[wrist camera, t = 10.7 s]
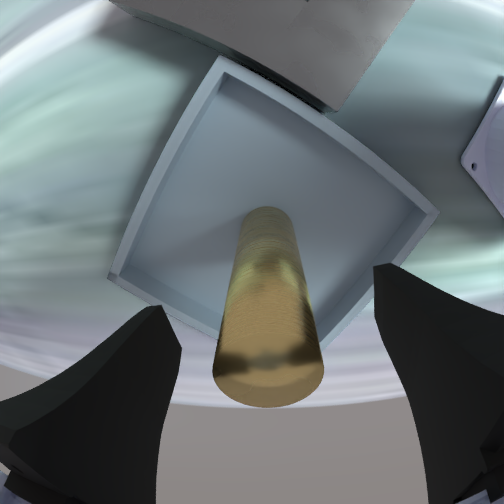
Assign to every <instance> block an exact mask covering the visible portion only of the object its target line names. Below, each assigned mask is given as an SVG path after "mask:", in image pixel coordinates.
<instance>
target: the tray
mask: <svg viewBox="0 0 504 504" xmlns="http://www.w3.org/2000/svg"><path fill="white" fill-rule="evenodd" d="M263 206H271V207H276V208H278V209H280V210H282V211H283V212H285V213H286V214H287V215H288V216H289V218H290V220H291V222H292V224H293V228H294V232H295V236H296V240H297V245H298V249H299V253H300V257H301V261H302V266H303V270H304V274H305V279H306V283H307V288H308V292H309V297H310V301H311V306H312V310H313V315H314V320H315V325H316V329H317V334H318V339H319V344H320V349H321V352H322V351H323V350H324V349H325V348H326V347H327V346H328V345H329V344H330V343H331V342H332V341H333V340H334V339H335V338H336V337H337V336H338V335H339V334H340V333H341V332H342V331H343V330H344V329H345V328H346V327H347V326H348V325H349V324H350V323H351V321H352V320H353V319H354V318H355V317H356V316H357V315H358V314H359V313H360V312H361V311H362V309H363V308H364V307H365V306H366V305H367V304H368V303H369V302H370V301H371V299H372V298H373V297H374V279H373V266H377V265H381V264H386V263H392V264H394V265H396V266H398V267H399V266H400V265H401V264H402V263H403V261H404V260H405V259H406V258H407V256H408V255H409V254H410V253H411V251H412V250H413V249H414V247H415V246H416V245H417V244H418V242H419V241H420V240H421V238H422V237H423V236H424V234H425V233H426V232H427V230H428V229H429V228H430V226H431V225H432V224H433V222H434V221H435V219H436V218H437V217H438V215H439V214H440V211H439V210H438V209H437V208H436V207H435V206H434V205H433V204H432V203H431V202H430V201H429V200H428V199H426V198H425V197H424V196H423V195H422V194H421V193H420V192H419V191H418V190H417V189H416V188H415V187H413V186H412V185H411V184H410V183H409V182H408V181H407V180H406V179H405V178H403V177H402V176H401V175H400V174H399V173H398V172H396V171H395V170H394V169H393V168H392V167H391V166H389V165H388V164H387V163H386V162H385V161H383V160H382V159H381V158H380V157H378V156H377V155H376V154H375V153H373V152H372V151H371V150H370V149H368V148H367V147H366V146H365V145H363V144H362V143H361V142H359V141H358V140H357V139H355V138H354V137H353V136H351V135H350V134H349V133H347V132H346V131H345V130H343V129H342V128H341V127H339V126H338V125H336V124H335V123H334V122H332V121H331V120H329V119H328V118H326V117H325V116H323V115H322V114H321V113H319V112H318V111H316V110H315V109H313V108H312V107H310V106H309V105H307V104H306V103H304V102H302V101H301V100H299V99H298V98H296V97H295V96H293V95H291V94H290V93H288V92H287V91H285V90H283V89H282V88H280V87H278V86H277V85H275V84H273V83H272V82H270V81H268V80H266V79H265V78H263V77H261V76H259V75H258V74H256V73H254V72H252V71H250V70H248V69H247V68H245V67H243V66H241V65H239V64H237V63H235V62H233V61H231V60H229V59H228V58H226V57H224V56H222V55H219V56H218V58H217V59H216V61H215V62H214V64H213V65H212V67H211V69H210V70H209V72H208V73H207V75H206V76H205V78H204V80H203V81H202V83H201V84H200V86H199V88H198V89H197V91H196V93H195V94H194V96H193V97H192V99H191V101H190V103H189V104H188V106H187V108H186V109H185V111H184V113H183V115H182V116H181V118H180V120H179V122H178V123H177V125H176V127H175V129H174V131H173V133H172V134H171V136H170V138H169V140H168V142H167V144H166V146H165V148H164V149H163V151H162V153H161V155H160V157H159V159H158V161H157V163H156V165H155V167H154V169H153V171H152V173H151V175H150V177H149V179H148V181H147V184H146V186H145V188H144V190H143V192H142V194H141V196H140V199H139V201H138V203H137V205H136V208H135V210H134V212H133V214H132V217H131V219H130V221H129V224H128V226H127V228H126V231H125V233H124V236H123V238H122V240H121V243H120V245H119V248H118V251H117V253H116V256H115V258H114V261H113V264H112V266H111V269H110V272H109V274H108V277H107V279H109V280H110V281H112V282H114V283H115V284H117V285H118V286H120V287H122V288H123V289H125V290H127V291H129V292H130V293H132V294H134V295H135V296H137V297H139V298H141V299H142V300H144V301H146V302H148V303H149V304H151V305H153V306H156V305H162V307H163V309H164V311H165V313H167V314H169V315H171V316H173V317H175V318H176V319H178V320H180V321H182V322H184V323H186V324H188V325H190V326H192V327H194V328H195V329H197V330H199V331H201V332H203V333H205V334H207V335H209V336H211V337H213V338H215V339H217V340H218V337H219V332H220V327H221V322H222V317H223V312H224V307H225V302H226V297H227V292H228V287H229V282H230V277H231V272H232V268H233V263H234V258H235V253H236V248H237V244H238V239H239V234H240V229H241V225H242V222H243V220H244V218H245V217H246V215H247V214H248V213H249V212H251V211H252V210H254V209H256V208H259V207H263Z"/></svg>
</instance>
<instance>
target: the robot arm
mask: <svg viewBox="0 0 504 504" xmlns="http://www.w3.org/2000/svg"><path fill="white" fill-rule="evenodd" d="M472 163H474V167H473V169H472V168H471V166H472ZM461 164H462V166H463V167H464V168H465V170H466V171H467V172H468V173H469V174H470V175H471V177H472V178H473V179H474V180H475V181H476V183H477V184H478V185H479V186H480V187H481V189H482V190H483V191H484V192H485V194H486V195H487V196H488V198H489V199H490V200H491V202H492V203H493V204H494V206H495V207H496V208H497V210H498V211H499V212H500V214H501V215H502V217H503V218H504V80H503V82H502V84H501V86H500V88H499V90H498V92H497V94H496V96H495V98H494V100H493V102H492V104H491V106H490V108H489V109H488V111H487V113H486V115H485V117H484V119H483V120H482V122H481V124H480V126H479V128H478V129H477V131H476V133H475V135H474V136H473V138H472V140H471V141H470V143H469V145H468V146H467V148H466V150H465V151H464V153H463V155H462V157H461ZM373 279H374V317H375V320H376V323H377V326H378V329H379V332H380V335H381V338H382V341H383V343H384V346H385V348H386V350H387V352H388V354H389V356H390V359H391V361H392V363H393V365H394V367H395V369H396V372H397V374H398V376H399V378H400V380H401V383H402V385H403V387H404V389H405V392H406V395H407V397H408V400H409V403H410V406H411V409H412V413H413V417H414V421H415V424H416V428H417V433H418V437H419V441H420V446H421V451H422V456H423V461H424V467H425V474H426V482H427V491H428V502H429V504H504V315H501V314H498V313H495V312H491V311H488V310H486V309H483V308H481V307H478V306H475V305H473V304H470V303H468V302H465V301H463V300H461V299H459V298H457V297H454V296H452V295H450V294H448V293H446V292H444V291H442V290H440V289H438V288H436V287H434V286H433V285H431V284H429V283H427V282H425V281H423V280H422V279H420V278H418V277H416V276H415V275H413V274H411V273H409V272H407V271H406V270H404V269H402V268H400V267H398V266H396V265H394V264H392V263H386V264H381V265H377V266H373ZM181 351H182V347H181V345H180V343H179V341H178V339H177V337H176V335H175V333H174V331H173V329H172V326H171V324H170V322H169V320H168V318H167V316H166V313H165V311H164V309H163V307H162V305H156V306H149V307H146V308H144V309H143V310H141V311H140V312H138V313H137V314H136V315H135V316H133V317H132V318H131V319H130V320H128V321H127V322H126V323H125V324H124V325H122V326H121V327H120V328H119V329H118V330H117V331H115V332H114V333H113V334H112V335H111V336H110V337H108V338H107V339H106V340H105V341H104V342H102V343H101V344H100V345H99V346H97V347H96V348H95V349H94V350H92V351H91V352H90V353H89V354H87V355H86V356H85V357H83V358H82V359H81V360H79V361H78V362H77V363H75V364H74V365H72V366H71V367H69V368H68V369H66V370H65V371H63V372H62V373H60V374H59V375H57V376H55V377H53V378H51V379H50V380H48V381H46V382H44V383H43V384H41V385H39V386H37V387H35V388H33V389H31V390H29V391H27V392H24V393H22V394H20V395H17V396H15V397H12V398H9V399H6V400H3V401H0V462H1V463H3V465H5V466H6V467H7V468H8V469H9V470H11V471H10V473H9V475H6V474H4V473H3V472H2V471H0V504H156V475H157V464H158V454H159V446H160V439H161V433H162V429H163V424H164V420H165V417H166V414H167V410H168V406H169V403H170V400H171V397H172V393H173V390H174V386H175V383H176V379H177V376H178V372H179V366H180V359H181Z"/></svg>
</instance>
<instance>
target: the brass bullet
mask: <svg viewBox="0 0 504 504" xmlns="http://www.w3.org/2000/svg"><path fill="white" fill-rule="evenodd" d="M212 372H213V378H214V381H215V383H216V385H217V386H218V387H219V389H220V390H221V391H222V392H223V393H224V394H226V395H227V396H228V397H230V398H231V399H233V400H235V401H237V402H240V403H242V404H245V405H249V406H254V407H262V408H272V407H281V406H286V405H290V404H293V403H296V402H298V401H300V400H302V399H304V398H306V397H307V396H309V395H310V394H311V393H312V392H314V391H315V390H316V388H317V387H318V386H319V384H320V383H321V381H322V378H323V375H324V365H323V359H322V354H321V349H320V344H319V339H318V334H317V329H316V325H315V320H314V315H313V310H312V306H311V301H310V297H309V292H308V288H307V283H306V279H305V274H304V270H303V266H302V261H301V257H300V253H299V249H298V245H297V240H296V236H295V232H294V228H293V224H292V222H291V220H290V218H289V216H288V215H287V214H286V213H285V212H283V211H282V210H280V209H278V208H276V207H271V206H263V207H259V208H256V209H254V210H252V211H251V212H249V213H248V214H247V215H246V217H245V218H244V220H243V222H242V225H241V229H240V234H239V239H238V244H237V248H236V253H235V258H234V263H233V268H232V272H231V277H230V282H229V287H228V292H227V297H226V302H225V307H224V312H223V317H222V322H221V327H220V332H219V337H218V342H217V347H216V352H215V358H214V363H213V370H212Z"/></svg>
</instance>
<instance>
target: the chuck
mask: <svg viewBox="0 0 504 504" xmlns="http://www.w3.org/2000/svg"><path fill="white" fill-rule="evenodd" d="M109 1H110V2H111V3H113V4H115V5H116V6H118V7H120V8H121V9H123V10H124V11H126V12H127V13H129V14H131V15H132V16H135V17H137V18H140V19H143V20H146V21H149V22H152V23H154V24H157V25H160V26H162V27H165V28H167V29H170V30H172V31H175V32H177V33H180V34H182V35H184V36H187V37H189V38H191V39H194V40H196V41H198V42H200V43H202V44H205V45H207V46H209V47H211V48H213V49H215V50H217V51H219V52H221V53H223V54H225V55H227V56H229V57H231V58H233V59H235V60H237V61H239V62H241V63H243V64H245V65H247V66H249V67H250V68H252V69H254V70H256V71H258V72H259V73H261V74H263V75H265V76H266V77H268V78H270V79H272V80H273V81H275V82H277V83H278V84H280V85H282V86H283V87H285V88H287V89H288V90H290V91H292V92H293V93H295V94H296V95H298V96H300V97H301V98H303V99H304V100H306V101H307V102H309V103H310V104H312V105H313V106H315V107H316V108H318V109H319V110H321V111H322V112H324V113H330V112H338V111H339V109H340V108H341V106H342V105H343V103H344V102H345V100H346V99H347V98H348V96H349V95H350V93H351V92H352V90H353V89H354V87H355V86H356V84H357V83H358V82H359V80H360V79H361V77H362V76H363V74H364V73H365V71H366V70H367V69H368V67H369V66H370V64H371V63H372V61H373V60H374V58H375V57H376V56H377V54H378V53H379V51H380V50H381V48H382V47H383V45H384V44H385V43H386V41H387V40H388V38H389V37H390V35H391V34H392V33H393V31H394V30H395V28H396V27H397V25H398V24H399V23H400V21H401V20H402V18H403V17H404V15H405V14H406V13H407V11H408V10H409V8H410V7H411V5H412V4H413V3H414V1H415V0H309V1H308V2H307V1H305V0H109Z"/></svg>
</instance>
